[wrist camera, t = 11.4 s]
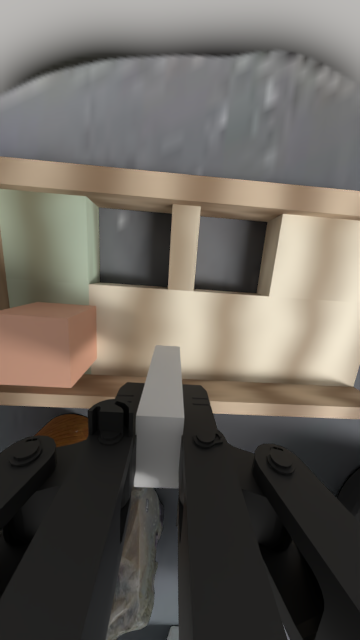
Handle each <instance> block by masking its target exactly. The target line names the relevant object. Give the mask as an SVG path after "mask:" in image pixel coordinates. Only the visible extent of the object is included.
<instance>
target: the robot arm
mask: <svg viewBox="0 0 360 640" xmlns="http://www.w3.org/2000/svg"><path fill="white" fill-rule="evenodd" d="M133 482H134V487H150V488H178V487H179V497H178V509H177V520H176V526H178V604H179V640H287V637H286V633H285V630H284V627H285V629H286V631H287V634H288V636H289V638H290V640H360V468H359V469H358V470H357V471H356V472H355V473H354V474H353V475H352V476H351V477H350V478H349V479H348V480H347V482H346V483H345V484H344V486H343V487H342V489H341V491H340V493H339V495H338V498H336V497H335V496H334V495H333V494H332V493H331V492H330V491H329V490H328V489H327V488H326V486H325V485H324V484H323V483H322V482H321V481H320V480H319V479H318V478H317V477H316V476H315V475H314V474H313V473H312V472H311V470H310V469H309V468H308V467H307V466H306V465H305V464H304V463H303V462H302V461H301V460H300V459H299V458H298V457H297V456H296V455H295V454H293V453H292V452H291V451H289V450H287V449H286V448H284V447H282V446H279V445H275V444H262V445H260V446H258V447H257V449H256V450H255V454H254V453H251V452H247V451H244V450H241V449H238V448H236V447H233V446H232V445H230V444H228V443H227V441H226V439H225V437H224V435H223V434H222V433H221V432H220V431H219V430H217V426H216V423H215V419H214V416H213V412H212V408H211V406H210V401H209V397H208V394H207V391H206V390H205V389H204V388H203V387H202V386H201V385H189V384H182V374H181V358H180V347H179V346H162V345H156V346H155V349H154V353H153V356H152V360H151V364H150V367H149V371H148V374H147V378H146V381H145V383H135V382H127V383H125V384H124V385H123V386H122V387H120V389H119V391H118V393H117V396H116V397H115V399H108V400H104V401H101V402H99V403H97V404H95V405H93V406H92V407H91V408H90V409H89V410H88V437H87V439H86V440H83V441H81V442H78V443H74V444H70V445H65V446H61V447H56V443H55V441H54V439H52V438H50V437H49V436H41V435H38V436H33V437H28V438H25V439H23V440H20V441H18V442H16V443H14V444H13V445H11V446H10V447H8V448H6V449H5V450H4V451H3V452H1V453H0V640H106V636H107V631H108V625H109V620H110V615H111V609H112V604H113V599H114V593H115V588H116V583H117V578H118V572H119V567H120V562H121V556H122V551H123V546H124V540H125V535H126V530H127V525H128V519H129V514H130V509H131V492H132V487H133ZM282 623H283V624H282ZM283 625H284V627H283Z"/></svg>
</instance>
